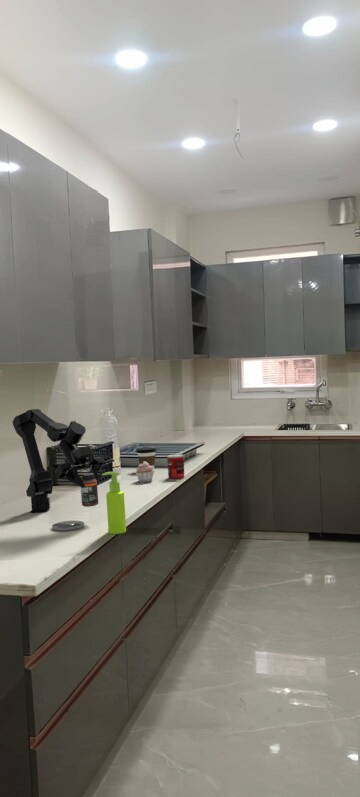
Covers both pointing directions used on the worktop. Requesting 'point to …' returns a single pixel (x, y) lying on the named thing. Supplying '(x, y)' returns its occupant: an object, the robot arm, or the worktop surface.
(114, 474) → the soap dispenser
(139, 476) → the cupcake
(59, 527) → the dark gray plate
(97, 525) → the worktop surface
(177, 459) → the canned food
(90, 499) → the supplement bottle
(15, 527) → the worktop surface
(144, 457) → the coffee cup
